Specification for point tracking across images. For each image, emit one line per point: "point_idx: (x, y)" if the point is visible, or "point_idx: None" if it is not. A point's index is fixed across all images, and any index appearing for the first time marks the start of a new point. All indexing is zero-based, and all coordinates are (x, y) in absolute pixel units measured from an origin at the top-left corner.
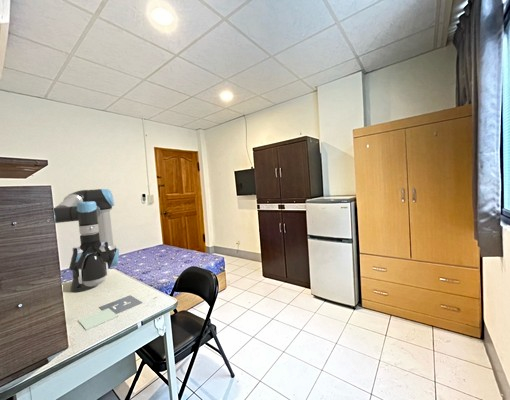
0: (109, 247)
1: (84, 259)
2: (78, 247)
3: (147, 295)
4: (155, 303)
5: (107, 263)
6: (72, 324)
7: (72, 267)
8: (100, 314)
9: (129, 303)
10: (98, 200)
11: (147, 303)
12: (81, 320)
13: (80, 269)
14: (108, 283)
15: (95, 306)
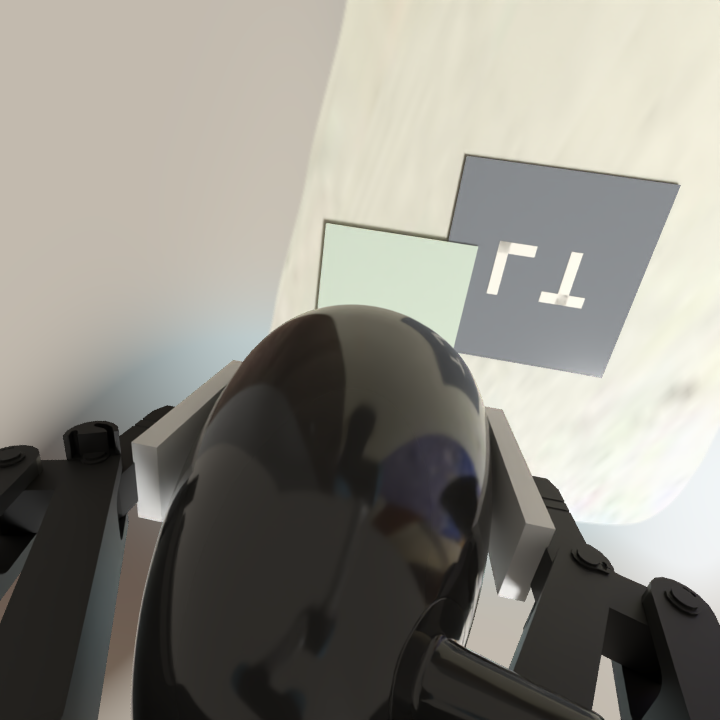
0: None
1: (138, 620)
2: None
3: (702, 316)
4: (614, 448)
5: (519, 588)
6: (297, 232)
7: (10, 547)
8: (413, 280)
9: (568, 312)
10: None
11: (602, 408)
12: (333, 245)
13: (158, 509)
14: None
15: (466, 108)
